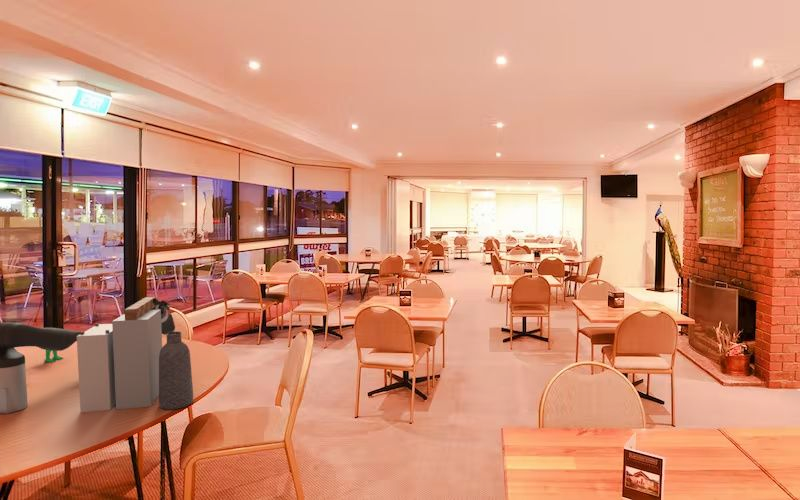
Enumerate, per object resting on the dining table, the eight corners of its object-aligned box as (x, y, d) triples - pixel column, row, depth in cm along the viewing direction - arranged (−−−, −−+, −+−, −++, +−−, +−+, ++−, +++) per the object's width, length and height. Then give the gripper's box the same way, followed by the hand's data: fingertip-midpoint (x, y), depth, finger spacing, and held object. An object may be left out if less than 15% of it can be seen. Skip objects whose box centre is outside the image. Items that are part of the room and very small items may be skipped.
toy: (34, 368, 228) (32, 338, 227) (23, 367, 229) (21, 337, 228) (80, 353, 253) (79, 325, 252) (70, 352, 254) (68, 325, 253)
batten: (136, 319, 179) (136, 309, 179) (124, 320, 178) (124, 309, 178) (156, 305, 207) (155, 296, 206) (146, 306, 206) (145, 297, 205)
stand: (150, 406, 182) (147, 319, 179) (80, 412, 176) (75, 322, 174) (163, 388, 201) (160, 309, 199) (100, 393, 196) (97, 312, 193)
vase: (177, 396, 192) (174, 328, 190) (200, 400, 187) (198, 330, 185) (151, 407, 181) (148, 335, 179) (175, 412, 176) (172, 338, 174)
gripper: (141, 305, 216) (130, 292, 201) (175, 304, 220) (166, 291, 205) (139, 321, 213) (128, 309, 198) (173, 319, 217) (165, 307, 202)
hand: (148, 300), depth 202 cm, fingers closed on batten, 4 cm apart
